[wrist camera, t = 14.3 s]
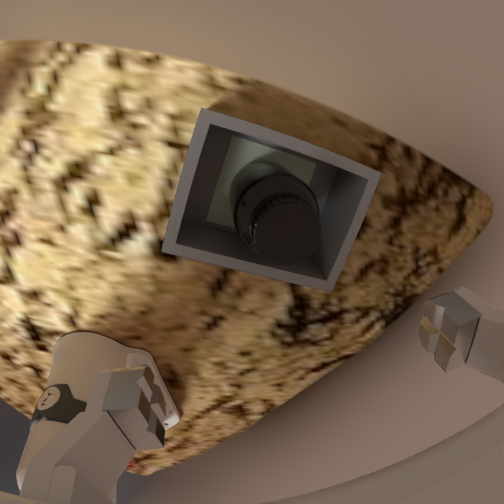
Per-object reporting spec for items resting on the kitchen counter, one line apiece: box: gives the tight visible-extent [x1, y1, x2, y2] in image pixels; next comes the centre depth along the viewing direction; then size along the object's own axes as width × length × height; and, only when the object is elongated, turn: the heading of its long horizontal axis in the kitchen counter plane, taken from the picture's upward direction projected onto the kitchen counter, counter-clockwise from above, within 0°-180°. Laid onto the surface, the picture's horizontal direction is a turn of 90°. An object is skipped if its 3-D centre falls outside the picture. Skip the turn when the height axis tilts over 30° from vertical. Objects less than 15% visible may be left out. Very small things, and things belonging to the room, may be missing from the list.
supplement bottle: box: [229, 161, 322, 265], centre depth 27 cm, size 7×7×12 cm
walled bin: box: [161, 108, 382, 292], centre depth 30 cm, size 16×12×8 cm
